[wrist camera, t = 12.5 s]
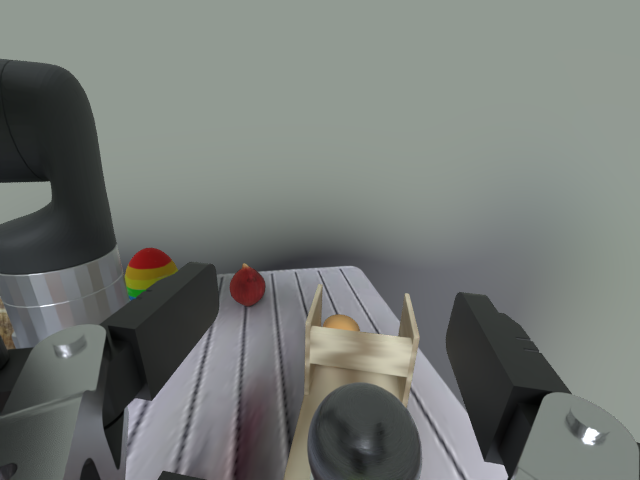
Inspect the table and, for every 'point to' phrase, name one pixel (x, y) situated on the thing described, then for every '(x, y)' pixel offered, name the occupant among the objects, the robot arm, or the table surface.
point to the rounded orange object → (341, 323)
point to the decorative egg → (147, 270)
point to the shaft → (363, 436)
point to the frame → (349, 369)
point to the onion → (247, 286)
